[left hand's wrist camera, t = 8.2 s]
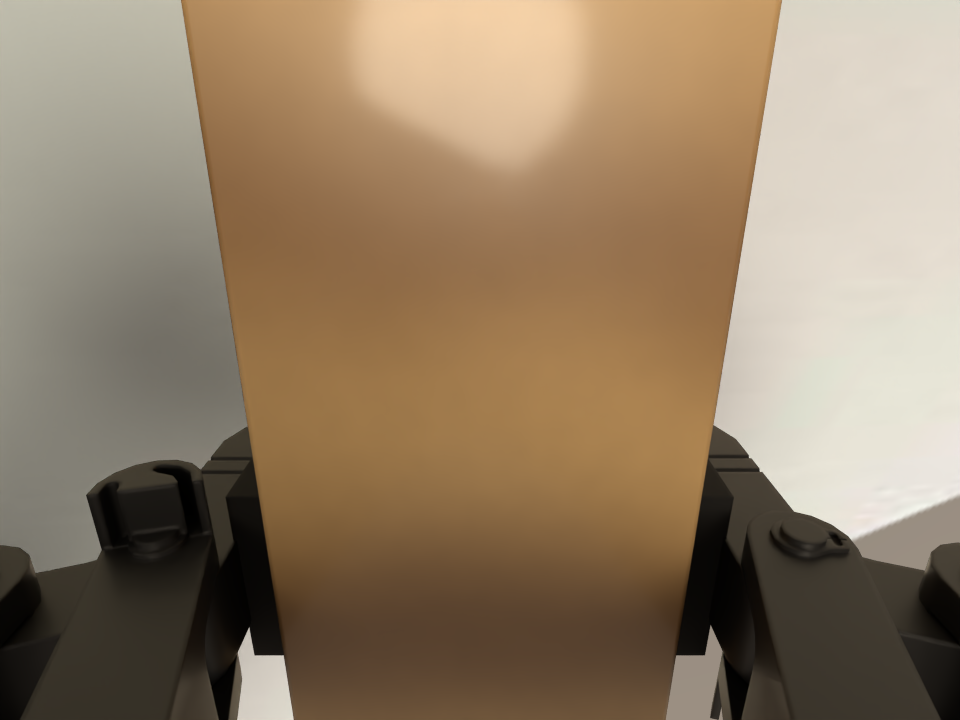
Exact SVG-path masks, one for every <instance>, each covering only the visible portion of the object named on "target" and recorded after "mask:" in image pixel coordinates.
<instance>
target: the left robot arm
mask: <svg viewBox="0 0 960 720" xmlns="http://www.w3.org/2000/svg"><path fill="white" fill-rule="evenodd" d="M86 496H87V500H88V503H89V507H90V510H91V514H92V517H93V521H94V524H95V528H96V531H97V535H98V538H99V542H100V545H101V549H102V551H101V553H100V555H99V557H98V559H97V560H95V561H92V562H88V563H84V564H79V565H74V566H69V567H64V568H59V569H55V570H50V571H45V572H40V573H35V571H34V568H33V565H32V562H31V559H30V556H29V555H28V554H27V553H26V552H25V551H23V550H22V549H21V548H18V547H10V546H3V545H2V546H0V720H237V717H238V708H239V700H240V692H241V684H242V675H241V668H240V662H239V657H238V650H239V648H240V646H241V644H242V642H243V639H244V637H245V635H246V633H247V631H248V628H249V627H250V633H251V638H252V644H253V649H254V654H255V655H284V653H283V647H282V640H281V634H280V628H279V621H278V615H277V608H276V602H275V596H274V589H273V583H272V577H271V570H270V564H269V557H268V551H267V545H266V538H265V532H264V526H263V519H262V513H261V506H260V500H259V494H258V487H257V481H256V475H255V468H254V462H253V455H252V449H251V443H250V436H249V430H248V427H246V428H244V429H243V430H241V431H239V432H238V433H236V434H235V435H233V436H231V437H230V438H228V439H227V440H225V441H224V442H223V443H222V444H221V445H220V447H219V448H218V449H217V450H216V452H215V453H214V454H213V456H212V457H211V461H208V462H207V463H206V464H205V466H204V467H203V468H202V469H201V470H200V469H199V468H198V467H196V466H195V465H194V464H193V463H189V462H184V461H179V460H160V461H153V462H148V463H143V464H138V465H135V466H132V467H129V468H127V469H124V470H121V471H119V472H116V473H114V474H112V475H111V476H109V477H107V478H106V479H104V480H102V481H101V482H99V483H97V484H96V485H95V486H94V488H93V489H92V490H91V491H90V492H89V493H88V494H87V495H86ZM710 625H711V626H712V629H713V631H714V633H715V635H716V637H717V640H718V642H719V644H720V646H721V648H722V651H723V652H722V657H721V662H720V667H719V672H718V678H717V683H716V688H715V693H714V698H713V703H712V709H711V716H710V718H713V719H717V720H718V719H719V715H720V710H721V707H722V715H723V720H960V543H951V544H943V545H940V546H939V547H937V548H936V549H935V550H933V551H932V552H931V554H930V557H929V560H928V563H927V566H926V569H925V571H924V570H919V569H914V568H909V567H904V566H899V565H894V564H889V563H884V562H879V561H874V560H871V559H867V558H863V557H862V556H861V554H860V552H859V550H858V548H857V547H856V546H855V544H854V543H853V542H852V541H851V539H850V538H849V537H848V536H847V535H846V534H844V533H843V532H841V531H840V530H838V529H837V528H836V527H834V526H833V525H831V524H829V523H827V522H824V521H822V520H820V519H817V518H815V517H813V516H810V515H805V514H801V513H797V512H794V511H793V510H792V509H791V507H790V506H789V505H788V504H787V502H786V501H785V500H784V499H783V497H782V496H781V495H780V494H779V492H778V491H777V490H776V489H775V487H774V486H773V485H772V484H771V482H770V481H769V480H768V479H767V477H766V476H765V475H764V474H763V472H760V471H759V467H758V466H757V465H756V464H755V462H754V461H753V460H752V459H751V458H749V455H748V454H747V452H746V451H745V450H744V449H743V447H742V446H741V445H740V444H739V442H738V441H737V440H736V439H735V438H733V437H732V436H730V435H728V434H727V433H725V432H724V431H722V430H720V429H719V428H717V427H716V426H714V425H713V429H712V436H711V442H710V448H709V454H708V460H707V466H706V473H705V479H704V485H703V491H702V497H701V504H700V510H699V516H698V522H697V528H696V534H695V541H694V547H693V553H692V559H691V565H690V572H689V578H688V584H687V590H686V596H685V602H684V609H683V615H682V621H681V627H680V633H679V639H678V646H677V652H676V655H705V652H706V646H707V641H708V635H709V630H710Z"/></svg>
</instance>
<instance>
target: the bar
mask: <svg viewBox="0 0 960 720" xmlns="http://www.w3.org/2000/svg"><path fill="white" fill-rule="evenodd" d="M181 3H182V9H183V16H184V22H185V28H186V35H187V41H188V47H189V54H190V60H191V67H192V73H193V79H194V86H195V92H196V98H197V105H198V111H199V118H200V124H201V130H202V137H203V143H204V149H205V156H206V162H207V169H208V175H209V181H210V188H211V194H212V200H213V207H214V213H215V220H216V226H217V232H218V239H219V245H220V251H221V258H222V264H223V271H224V277H225V283H226V290H227V296H228V302H229V309H230V315H231V322H232V328H233V334H234V341H235V347H236V353H237V360H238V366H239V373H240V379H241V385H242V392H243V398H244V404H245V411H246V417H247V424H248V430H249V436H250V443H251V449H252V455H253V462H254V468H255V475H256V481H257V487H258V494H259V500H260V506H261V513H262V519H263V526H264V532H265V538H266V545H267V551H268V557H269V564H270V570H271V577H272V583H273V589H274V596H275V602H276V608H277V615H278V621H279V628H280V634H281V640H282V647H283V653H284V659H285V666H286V672H287V679H288V685H289V691H290V698H291V704H292V710H293V717H294V720H666V714H667V707H668V701H669V695H670V689H671V683H672V677H673V670H674V664H675V658H676V652H677V646H678V639H679V633H680V627H681V621H682V615H683V609H684V602H685V596H686V590H687V584H688V578H689V572H690V565H691V559H692V553H693V547H694V541H695V534H696V528H697V522H698V516H699V510H700V504H701V497H702V491H703V485H704V479H705V473H706V466H707V460H708V454H709V448H710V442H711V436H712V429H713V423H714V417H715V411H716V405H717V399H718V392H719V386H720V380H721V374H722V368H723V361H724V355H725V349H726V343H727V337H728V331H729V324H730V318H731V312H732V306H733V300H734V293H735V287H736V281H737V275H738V269H739V263H740V256H741V250H742V244H743V238H744V232H745V226H746V219H747V213H748V207H749V201H750V195H751V188H752V182H753V176H754V170H755V164H756V158H757V151H758V145H759V139H760V133H761V127H762V121H763V114H764V108H765V102H766V96H767V90H768V83H769V77H770V71H771V65H772V59H773V53H774V46H775V40H776V34H777V28H778V22H779V15H780V9H781V3H782V0H181Z"/></svg>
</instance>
